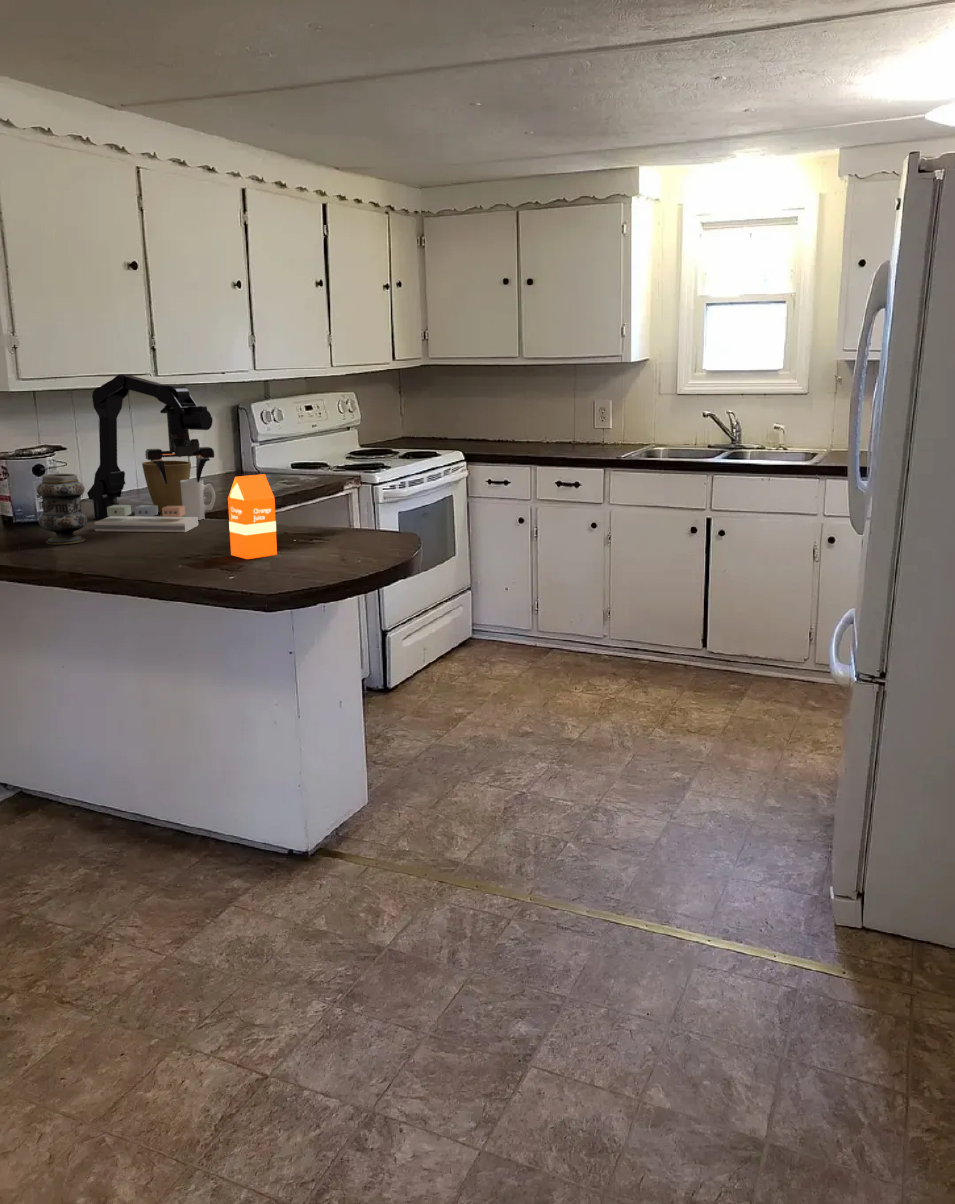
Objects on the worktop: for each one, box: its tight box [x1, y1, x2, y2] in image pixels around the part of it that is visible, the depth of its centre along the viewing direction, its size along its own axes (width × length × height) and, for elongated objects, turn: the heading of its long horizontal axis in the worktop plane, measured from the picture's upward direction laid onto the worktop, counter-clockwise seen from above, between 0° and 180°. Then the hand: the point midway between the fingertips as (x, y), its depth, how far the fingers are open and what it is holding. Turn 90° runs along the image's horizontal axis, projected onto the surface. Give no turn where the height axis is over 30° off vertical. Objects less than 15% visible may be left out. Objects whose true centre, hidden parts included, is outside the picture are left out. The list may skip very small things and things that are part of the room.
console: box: [93, 515, 199, 533], centre depth 285 cm, size 26×12×2 cm, turn 88°
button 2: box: [133, 504, 159, 517], centre depth 284 cm, size 5×5×2 cm
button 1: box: [107, 504, 132, 516], centre depth 284 cm, size 5×5×2 cm
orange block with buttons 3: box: [161, 506, 185, 517], centre depth 284 cm, size 5×5×2 cm
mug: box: [180, 478, 216, 521], centre depth 300 cm, size 10×7×12 cm, turn 107°
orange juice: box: [227, 473, 278, 560], centre depth 245 cm, size 8×9×20 cm
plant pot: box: [141, 460, 192, 514], centre depth 313 cm, size 15×15×16 cm
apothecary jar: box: [36, 473, 89, 546], centre depth 261 cm, size 12×12×18 cm
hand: (182, 483), depth 288 cm, fingers open, 9 cm apart
